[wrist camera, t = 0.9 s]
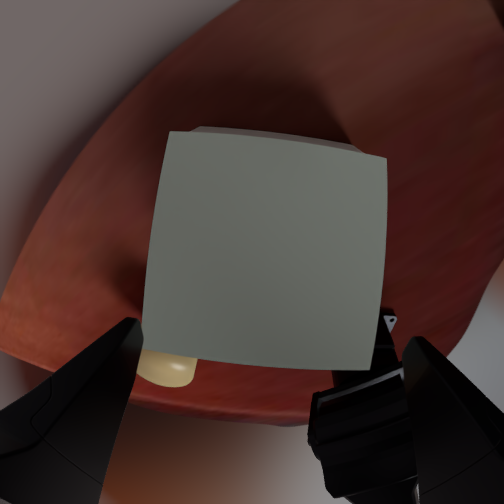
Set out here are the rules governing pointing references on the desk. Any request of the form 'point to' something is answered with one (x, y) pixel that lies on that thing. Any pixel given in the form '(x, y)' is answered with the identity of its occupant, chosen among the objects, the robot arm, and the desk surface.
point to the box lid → (266, 253)
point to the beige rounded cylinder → (166, 368)
